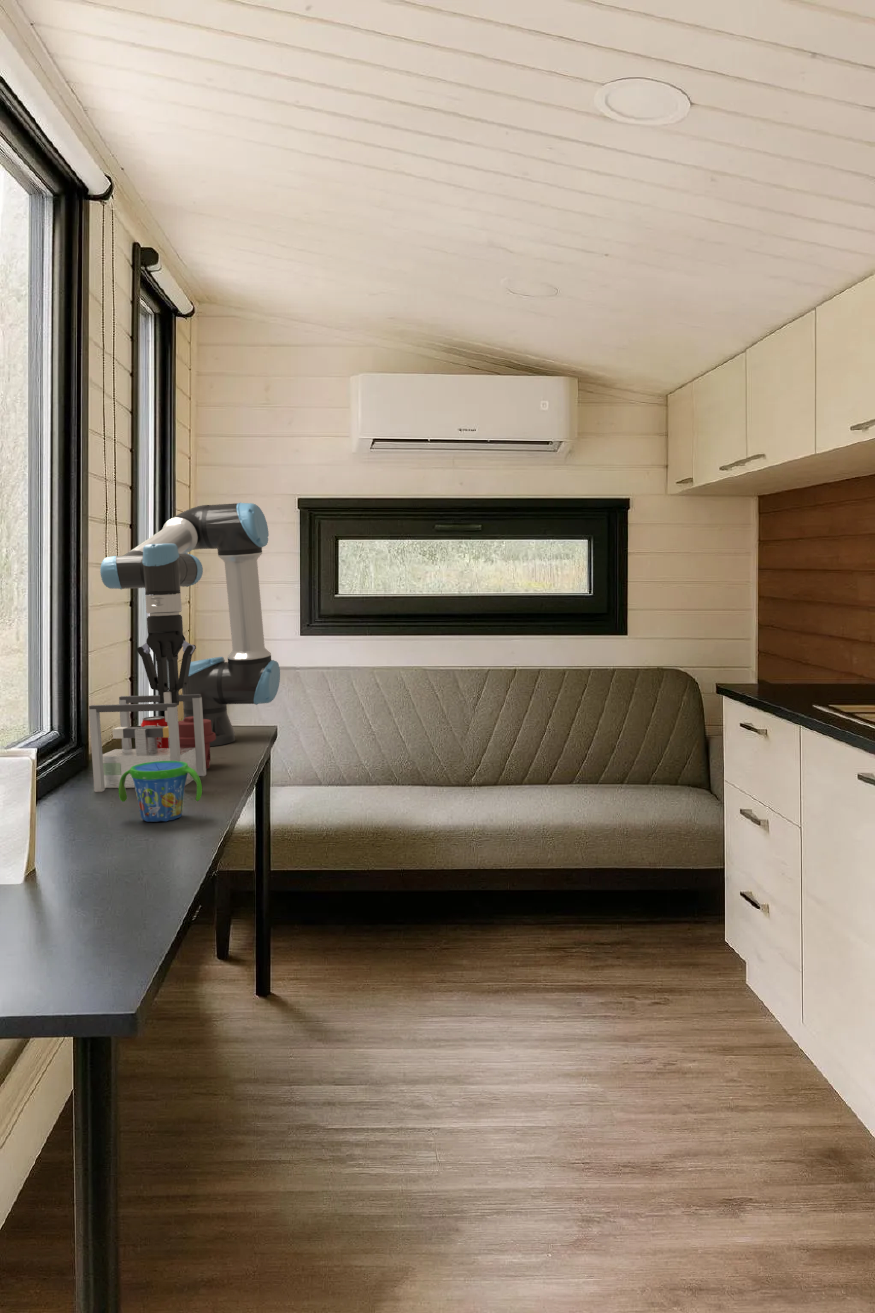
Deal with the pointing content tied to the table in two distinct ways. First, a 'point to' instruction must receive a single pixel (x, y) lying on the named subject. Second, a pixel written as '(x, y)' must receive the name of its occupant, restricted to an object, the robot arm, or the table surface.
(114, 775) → the grey box
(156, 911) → the table surface
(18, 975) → the table surface
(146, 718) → the soda can
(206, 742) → the mechanical component
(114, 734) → the lever
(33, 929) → the table surface
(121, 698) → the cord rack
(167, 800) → the snack cup
